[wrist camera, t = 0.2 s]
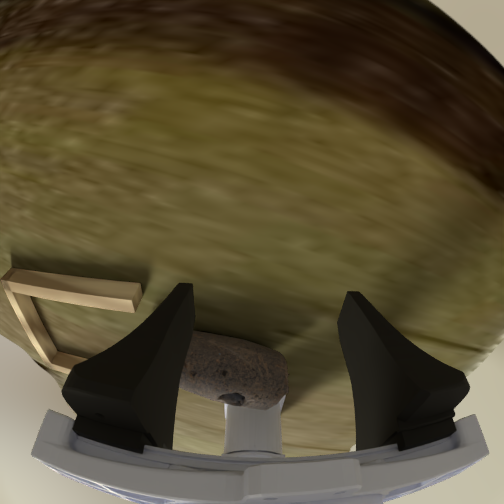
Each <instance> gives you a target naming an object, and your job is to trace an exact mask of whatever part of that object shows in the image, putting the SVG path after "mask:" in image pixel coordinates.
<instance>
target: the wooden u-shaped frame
mask: <svg viewBox="0 0 504 504" xmlns="http://www.w3.org/2000/svg"><path fill="white" fill-rule="evenodd" d="M0 280H1V283H2V285H3V287H4V290H5V292H6V294H7V296H8V298H9V300H10V302H11V305H12V307H13V309H14V311H15V313H16V314H17V316H18V318H19V320H20V322H21V324H22V326H23V328H24V329H25V331H26V333H27V335H28V336H29V338H30V340H31V342H32V343H33V345H34V347H35V348H36V350H37V352H38V353H39V355H40V356H41V358H42V359H43V361H44V362H45V364H46V366H47V367H48V368H51V369H54V370H57V371H60V372H63V373H67V374H69V373H70V371H71V369H72V368H73V366H74V365H76V364H78V363H81V362H83V361H85V360H87V359H86V358H82V357H78V356H74V355H70V354H66V353H63V352H59V351H57V349H56V347H55V346H54V344H53V342H52V340H51V338H50V337H49V335H48V333H47V331H46V329H45V327H44V325H43V323H42V321H41V319H40V317H39V315H38V313H37V311H36V309H35V307H34V305H33V302H32V300H31V298H30V296H34V297H39V298H44V299H49V300H55V301H60V302H66V303H71V304H77V305H83V306H89V307H96V308H103V309H109V310H116V311H124V312H132V313H135V312H136V310H137V307H138V305H139V303H140V301H141V299H142V296H143V293H142V289H141V284H140V283H134V282H124V281H114V280H104V279H95V278H86V277H77V276H69V275H61V274H53V273H46V272H38V271H31V270H24V269H17V268H10V270H9V271H8V272H7V273H6V274H5V275H4V276H3V277H2V278H1V279H0ZM29 295H30V296H29Z"/></svg>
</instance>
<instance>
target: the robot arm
mask: <svg viewBox="0 0 504 504" xmlns="http://www.w3.org/2000/svg"><path fill="white" fill-rule="evenodd" d="M194 321H195V308H194V296H193V284H191V283H179V284H177V286H176V287H175V288H174V289H173V291H172V292H171V293H170V294H169V295H168V296H167V298H166V299H165V300H164V301H163V302H162V303H161V304H160V305H159V307H158V308H157V309H156V310H155V311H154V312H153V313H152V314H151V315H150V316H149V317H148V318H147V319H146V320H145V321H144V322H143V323H142V324H141V325H139V326H138V327H137V328H136V329H135V330H134V331H132V332H131V333H130V334H129V335H127V336H126V337H125V338H123V339H122V340H120V341H119V342H118V343H116V344H115V345H113V346H112V347H110V348H108V349H107V350H105V351H103V352H101V353H99V354H98V355H96V356H94V357H92V358H90V359H87V360H85V361H83V362H81V363H78V364H76V365H74V366H73V368H72V369H71V371H70V373H69V375H68V377H67V380H66V382H65V384H64V386H63V389H62V395H63V397H64V399H65V400H66V402H67V403H68V404H69V405H70V407H71V408H72V409H73V410H74V411H75V413H76V414H77V417H76V420H73V419H72V418H70V417H68V416H66V415H63V414H60V413H58V412H55V411H53V410H50V409H49V410H48V411H47V413H46V415H45V418H44V420H43V423H42V425H41V428H40V430H39V433H38V435H37V438H36V441H35V444H34V446H33V449H32V452H31V455H32V456H33V457H34V458H36V459H37V460H38V461H40V462H41V463H43V464H44V465H46V466H47V467H49V468H50V469H52V470H54V471H55V472H57V473H58V474H60V475H62V476H65V477H67V478H69V479H71V480H74V481H76V482H78V483H81V484H83V485H86V486H88V487H91V488H94V489H97V490H99V491H102V492H104V493H107V494H110V495H113V496H116V497H119V498H122V499H125V500H129V501H132V502H136V503H139V504H383V502H386V501H389V500H393V499H396V498H399V497H402V496H405V495H408V494H411V493H414V492H416V491H419V490H421V489H424V488H427V487H429V486H432V485H434V484H436V483H439V482H441V481H443V480H446V479H448V478H450V477H453V476H455V475H457V474H459V473H461V472H462V471H464V470H466V469H467V468H469V467H471V466H472V465H474V464H475V463H477V462H478V461H480V460H481V459H483V458H484V457H486V456H487V455H488V454H489V450H488V447H487V445H486V442H485V439H484V436H483V433H482V430H481V428H480V425H479V423H478V420H477V418H476V415H475V414H473V415H470V416H468V417H465V418H462V419H459V420H458V421H456V422H454V421H453V417H454V416H455V412H454V408H455V407H456V406H457V405H458V404H459V403H460V402H461V401H462V400H463V399H464V398H465V396H466V395H467V394H468V392H469V390H470V386H469V383H468V381H467V379H466V377H465V375H464V373H463V372H462V371H460V370H457V369H455V368H453V367H451V366H448V365H446V364H444V363H443V362H441V361H439V360H437V359H435V358H434V357H432V356H430V355H429V354H427V353H426V352H424V351H423V350H421V349H420V348H418V347H417V346H416V345H414V344H413V343H412V342H411V341H409V340H408V339H407V338H405V337H404V336H403V335H402V334H401V333H400V332H399V331H398V330H396V329H395V328H394V327H393V326H392V325H391V324H390V323H389V322H388V321H387V320H386V319H385V318H384V317H383V316H382V315H381V314H380V313H379V312H378V311H377V310H376V309H375V307H374V306H373V305H372V304H371V303H370V302H369V301H368V300H367V299H366V298H365V297H364V296H363V295H362V294H361V293H360V292H358V291H347V294H346V297H345V300H344V303H343V307H342V310H341V313H340V316H339V318H338V321H337V325H338V332H339V339H340V343H341V347H342V350H343V354H344V358H345V361H346V365H347V368H348V372H349V376H350V380H351V384H352V391H353V399H354V408H355V421H356V451H354V452H347V453H339V454H330V455H320V456H307V457H287V458H285V455H282V435H281V414H280V413H281V409H282V406H283V403H284V400H285V397H286V395H285V396H283V398H282V399H281V400H280V401H279V403H278V404H277V405H274V406H273V407H271V408H269V409H268V410H260V409H253V408H246V407H239V406H232V405H228V404H225V403H224V404H225V419H226V429H225V443H224V454H222V456H216V455H205V454H197V453H189V452H182V451H175V450H172V447H173V432H174V422H175V412H176V404H177V397H178V390H179V383H180V378H181V374H182V370H183V366H184V363H185V359H186V356H187V352H188V349H189V345H190V342H191V338H192V334H193V328H194Z"/></svg>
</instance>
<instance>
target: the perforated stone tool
mask: <svg viewBox="0 0 504 504" xmlns="http://www.w3.org/2000/svg"><path fill="white" fill-rule="evenodd" d="M287 369H288V367H287V362H286V360H285V358H284V356H283V355H282V354H281V353H280V352H278V351H276V350H273V349H271V348H268V347H265V346H262V345H259V344H256V343H253V342H251V341H248V340H243V339H237V338H233V337H228V336H222V335H217V334H213V333H206V332H200V331H193V334H192V338H191V342H190V345H189V349H188V352H187V356H186V359H185V363H184V366H183V370H182V374H181V378H180V383H179V387H180V388H182V389H184V390H186V391H189V392H191V393H194V394H197V395H199V396H202V397H205V398H208V399H210V400H213V401H219V402H222V403H225V404H228V405H232V406H239V407H246V408H253V409H260V410H268V409H269V408H271V407H273V406H274V405H277V404H278V403H279V401H280V400H281V399H282V398H283V396H285V395H286V394H288V392H289V390H288V389H289V387H288V379H287V378H288V375H289V374H288V372H287Z"/></svg>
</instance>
